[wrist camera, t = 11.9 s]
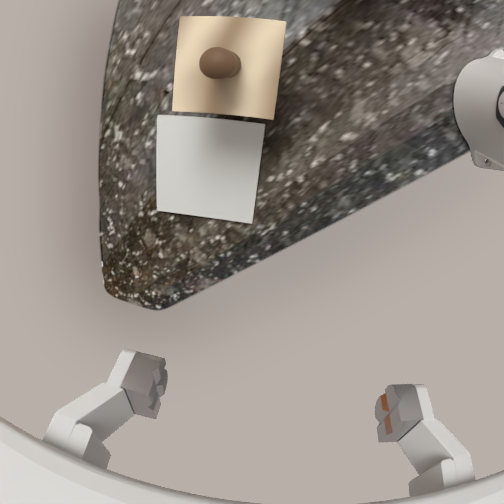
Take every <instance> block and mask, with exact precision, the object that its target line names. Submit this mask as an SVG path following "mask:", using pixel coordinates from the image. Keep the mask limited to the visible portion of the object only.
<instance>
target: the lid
mask: <svg viewBox="0 0 504 504" xmlns="http://www.w3.org/2000/svg"><path fill="white" fill-rule="evenodd" d="M285 30H286V21H277V20H268V19H258V18H244V17H221V16H190V17H180V23H179V32H178V41H177V52H176V63H175V75H174V90H173V107H172V111H184V112H202V113H216V114H227V115H238V116H247V117H256V118H264V119H271V120H274V114H275V106H276V98H277V91H278V83H279V76H280V68H281V61H282V53H283V45H284V38H285Z"/></svg>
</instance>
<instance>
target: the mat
mask: <svg viewBox="0 0 504 504" xmlns="http://www.w3.org/2000/svg"><path fill="white" fill-rule="evenodd" d="M264 131H265V124H262V123H255V122H246V121H238V120H228V119H218V118H206V117H192V116H174V115H158V118H157V211H164V212H171V213H179V214H187V215H194V216H201V217H209V218H216V219H223V220H230V221H237V222H244V223H250V224H252V222H253V214H254V207H255V199H256V191H257V184H258V176H259V168H260V161H261V153H262V146H263V138H264Z"/></svg>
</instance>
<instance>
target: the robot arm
mask: <svg viewBox="0 0 504 504" xmlns="http://www.w3.org/2000/svg"><path fill="white" fill-rule="evenodd" d="M453 103H454V112H455V117H456V121H457V124H458V127H459V129H460V131H461V133H462V135H463V136H464V138H465V139H466V141H467V143H468V145H469V147H470V152H471V157H472V160H473V162H474V164H475V165H476V166H478V167H481V168H487V169H494V170H501V171H504V51H503V50H501V49H495V50H493V51H492V52H491V53H490V54H489V55H488V56H487V57H485V58H481V59H476V60H474V61H472V62H470V63H469V64H467V65H466V66H465V67H464V68H463V70H462V71H461V73H460V74H459V76H458V78H457V81H456V84H455V89H454V98H453ZM486 158H487V160H486V162H485V159H486ZM165 365H166V362H165V358H161V357H157V356H153V355H149V354H145V353H141V352H138V351H133V350H129V349H126V348H125V349H123V351H122V352H121V353H120V356H119V358H118V360H117V362H116V364H115V366H114V368H113V370H112V372H111V374H110V376H109V379H108V381H107V383H101V384H99V385H98V386H96V387H95V388H93V389H92V390H90V391H88V392H87V393H85V394H84V395H82V396H81V397H79V398H77V399H76V400H74V401H72V402H71V403H69V404H68V405H66V406H64V407H63V408H61V409H60V410H58V411H56V413H55V415H54V417H53V419H52V421H51V423H50V425H49V427H48V429H47V431H46V433H45V436H44V438H43V440H40V439H38V438H36V437H34V436H32V435H30V434H29V433H26V432H25V431H23V430H22V429H20V428H18V427H16V426H15V425H13V424H11V423H10V422H8V421H6V420H5V419H3V418H2V417H0V504H259V503H249V502H240V501H232V500H225V499H218V498H212V497H206V496H201V495H196V494H191V493H186V492H182V491H177V490H173V489H169V488H165V487H161V486H157V485H154V484H150V483H146V482H143V481H140V480H136V479H133V478H130V477H127V476H124V475H121V474H118V473H115V472H112V471H109V470H107V465H108V462H109V459H110V456H111V455H110V453H109V451H108V450H107V449H106V447H105V446H104V445H103V444H102V441H104V440H105V439H106V438H107V437H108V436H110V435H111V434H112V433H113V432H115V431H116V430H117V429H118V428H119V427H121V426H122V425H123V424H124V423H125V422H127V421H128V420H129V419H130V418H131V417H132V416H133V415H134V414H138V415H142V416H145V417H149V418H154V419H156V418H157V414H158V411H159V408H160V405H161V403H160V399H159V397H161V396H162V395H164V393H165V390H166V385H167V377H168V376H167V371H166V370H165V369H164V367H165ZM385 392H386V393H385V394H383V395H381V396H380V397H379V399H378V400H377V402H376V406H375V416H376V419H377V420H378V421H379V422H380V424H379V425H378V427H377V432H378V439H379V442H397V443H398V444H399V446H400V447H401V449H402V450H403V452H404V453H405V454H406V456H407V458H408V459H409V460H410V462H411V464H412V465H413V466H414V468H415V469H416V471H417V472H418V474H419V476H418V477H416V478H414V479H413V480H411V481H410V482H409V493H410V497H407V498H401V499H394V500H387V501H380V502H371V503H361V504H504V470H503V471H501V472H498V473H495V474H493V475H490V476H487V477H484V478H481V479H479V480H475V475H474V470H473V465H472V461H471V456H470V453H469V452H468V451H467V450H466V449H465V448H464V447H463V445H462V444H461V443H460V442H459V441H458V440H457V439H456V438H455V437H454V436H453V435H452V434H451V432H450V431H449V430H448V429H447V428H446V427H445V426H444V425H443V424H442V423H441V422H440V421H439V420H438V419H435V417H434V414H433V409H432V406H431V402H430V398H429V395H428V391H427V388H426V386H425V385H424V384H414V385H412V384H401V385H389V386H388V387H387V388H386V389H385Z"/></svg>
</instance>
